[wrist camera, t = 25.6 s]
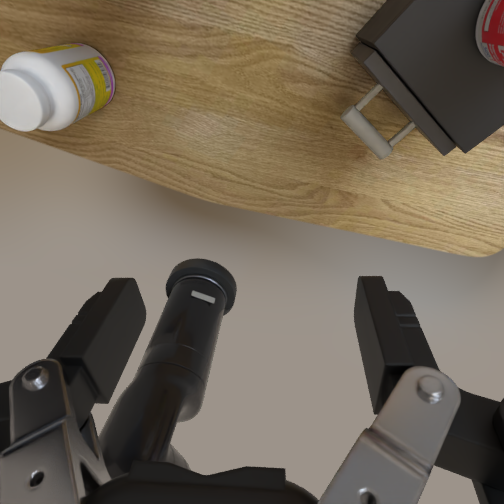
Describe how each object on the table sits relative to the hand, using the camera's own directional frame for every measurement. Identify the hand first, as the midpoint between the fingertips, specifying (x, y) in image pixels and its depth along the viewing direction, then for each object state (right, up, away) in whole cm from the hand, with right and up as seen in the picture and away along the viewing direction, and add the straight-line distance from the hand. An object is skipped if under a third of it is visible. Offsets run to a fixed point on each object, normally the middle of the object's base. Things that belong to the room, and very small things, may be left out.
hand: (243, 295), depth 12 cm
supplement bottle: (-18, +21, +26) cm, 38 cm away
